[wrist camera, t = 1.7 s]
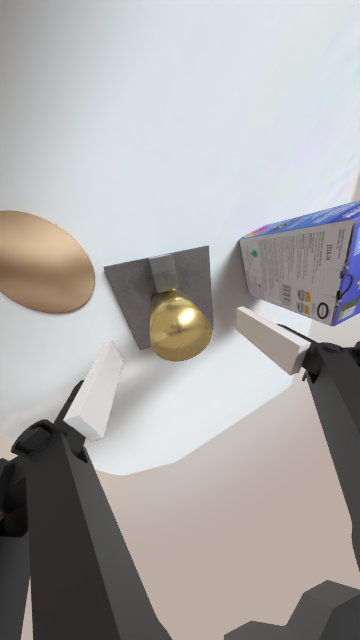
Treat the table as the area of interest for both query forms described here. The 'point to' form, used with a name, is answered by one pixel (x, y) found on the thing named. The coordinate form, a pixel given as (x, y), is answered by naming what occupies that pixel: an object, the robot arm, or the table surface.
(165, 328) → the bell
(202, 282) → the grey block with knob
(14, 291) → the coaster
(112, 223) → the table surface
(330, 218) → the ink cartridge box
